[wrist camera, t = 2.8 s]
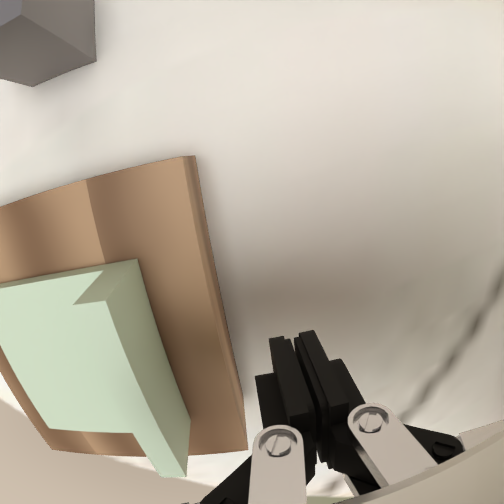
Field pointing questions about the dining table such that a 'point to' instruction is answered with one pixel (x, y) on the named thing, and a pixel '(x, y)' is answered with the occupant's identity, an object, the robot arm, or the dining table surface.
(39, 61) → the plug
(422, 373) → the dining table surface
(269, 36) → the dining table surface
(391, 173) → the dining table surface
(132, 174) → the socket
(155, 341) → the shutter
